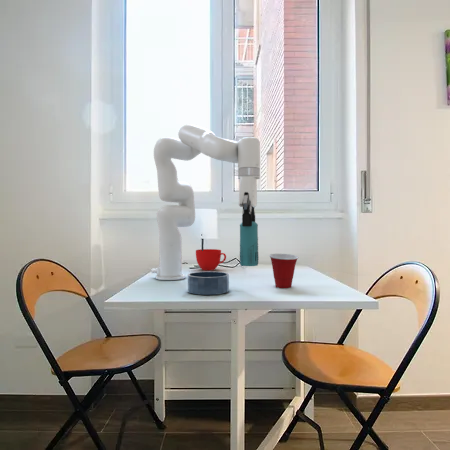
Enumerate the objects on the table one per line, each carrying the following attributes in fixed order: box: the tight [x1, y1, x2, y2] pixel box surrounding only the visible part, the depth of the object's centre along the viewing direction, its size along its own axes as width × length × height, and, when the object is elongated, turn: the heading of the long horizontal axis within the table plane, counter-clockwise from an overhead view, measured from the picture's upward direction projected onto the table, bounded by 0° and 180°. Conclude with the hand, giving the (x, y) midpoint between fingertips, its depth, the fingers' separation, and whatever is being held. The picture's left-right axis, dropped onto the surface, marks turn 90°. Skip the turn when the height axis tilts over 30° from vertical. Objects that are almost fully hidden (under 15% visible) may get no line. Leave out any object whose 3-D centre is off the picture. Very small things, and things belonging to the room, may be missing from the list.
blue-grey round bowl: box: [187, 271, 230, 296], centre depth 123 cm, size 14×14×6 cm
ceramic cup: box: [195, 248, 227, 271], centre depth 178 cm, size 13×17×10 cm
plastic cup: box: [269, 253, 299, 289], centre depth 131 cm, size 11×11×12 cm
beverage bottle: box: [239, 212, 260, 267], centre depth 121 cm, size 6×7×20 cm
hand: (248, 225), depth 121 cm, fingers closed on beverage bottle, 6 cm apart
